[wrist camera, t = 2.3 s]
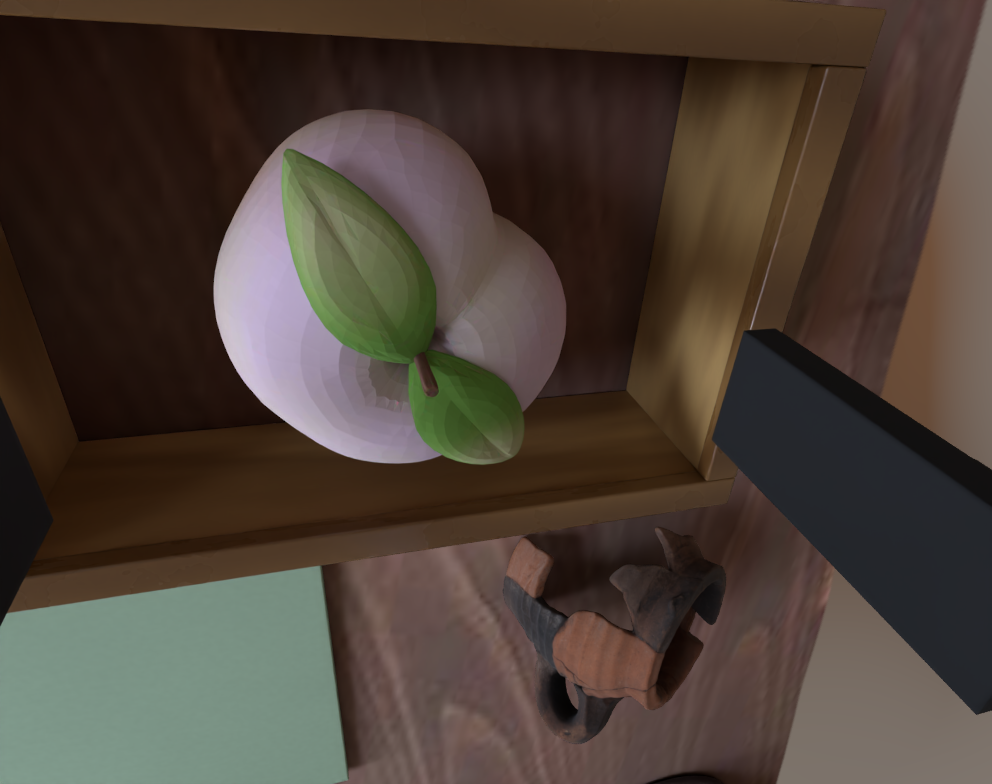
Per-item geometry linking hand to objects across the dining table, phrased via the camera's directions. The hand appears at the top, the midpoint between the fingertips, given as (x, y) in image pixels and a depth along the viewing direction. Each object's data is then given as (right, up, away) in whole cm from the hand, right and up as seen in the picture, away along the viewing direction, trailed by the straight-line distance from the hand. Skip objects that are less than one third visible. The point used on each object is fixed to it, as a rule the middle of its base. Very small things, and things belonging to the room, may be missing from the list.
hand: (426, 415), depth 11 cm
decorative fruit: (-3, +5, +9) cm, 11 cm away
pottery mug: (+6, -9, +21) cm, 24 cm away
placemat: (-15, -13, +16) cm, 26 cm away
